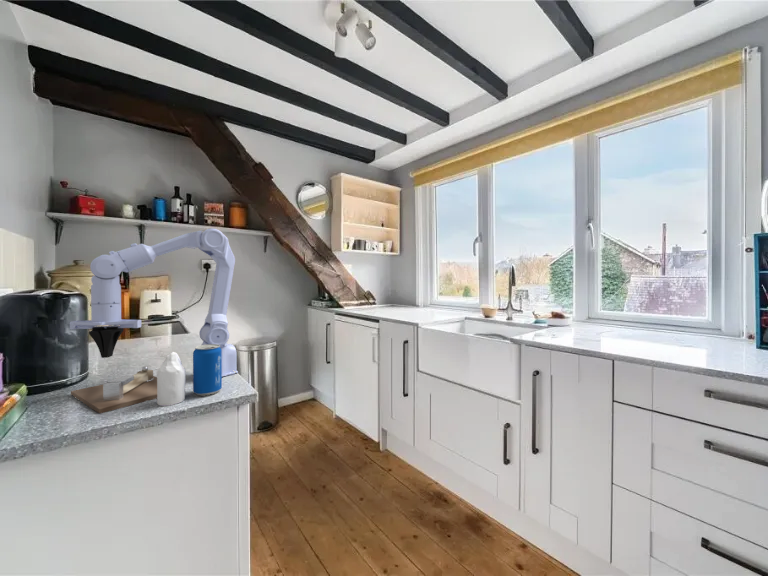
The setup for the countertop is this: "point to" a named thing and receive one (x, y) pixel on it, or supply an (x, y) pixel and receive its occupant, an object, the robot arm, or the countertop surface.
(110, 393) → the keeper
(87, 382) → the countertop surface
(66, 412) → the countertop surface
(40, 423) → the countertop surface
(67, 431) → the countertop surface
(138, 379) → the link
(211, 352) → the beverage can
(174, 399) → the white bottle
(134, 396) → the wooden cutting board
